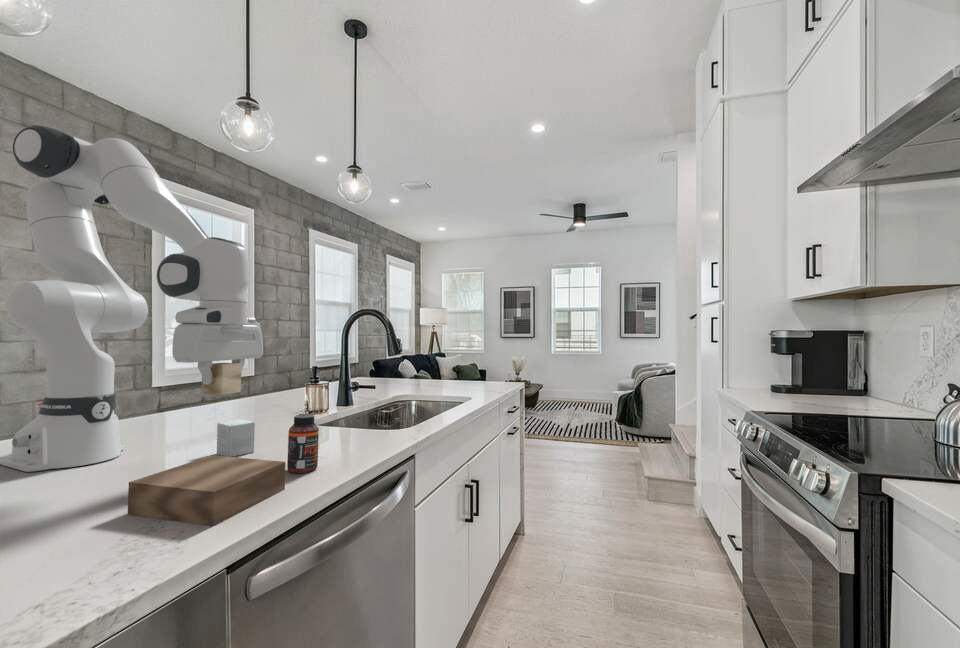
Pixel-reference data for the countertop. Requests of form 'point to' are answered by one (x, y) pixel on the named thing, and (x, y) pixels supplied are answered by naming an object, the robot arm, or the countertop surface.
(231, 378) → the maple block
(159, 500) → the walnut base
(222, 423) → the product box
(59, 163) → the robot arm
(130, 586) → the countertop surface
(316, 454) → the supplement bottle
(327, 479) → the countertop surface
